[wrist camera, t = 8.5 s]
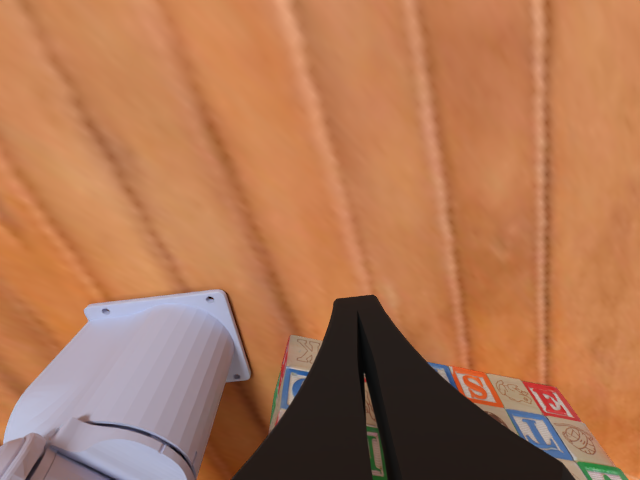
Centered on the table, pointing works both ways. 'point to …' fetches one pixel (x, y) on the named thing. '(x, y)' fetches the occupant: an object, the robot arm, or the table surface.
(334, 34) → the table surface
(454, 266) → the table surface
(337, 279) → the table surface
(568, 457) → the stack of blocks
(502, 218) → the table surface
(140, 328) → the robot arm
